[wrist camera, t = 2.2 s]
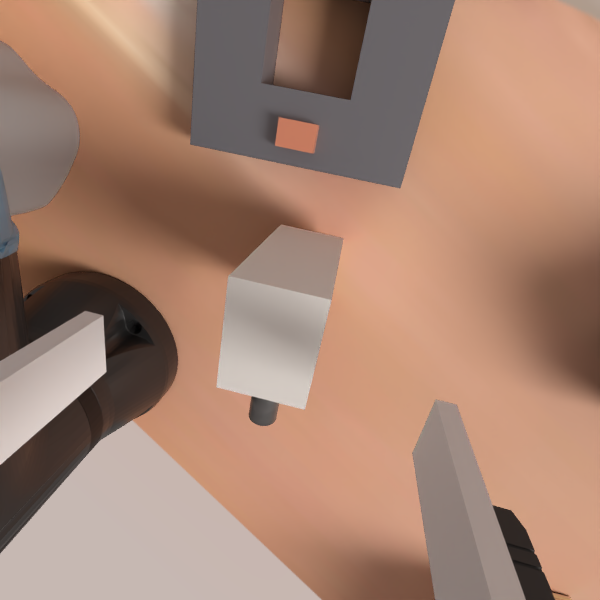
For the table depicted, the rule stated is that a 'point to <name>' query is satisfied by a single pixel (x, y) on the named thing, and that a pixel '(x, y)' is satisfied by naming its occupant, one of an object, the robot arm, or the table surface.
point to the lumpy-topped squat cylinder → (33, 135)
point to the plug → (277, 319)
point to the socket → (310, 106)
